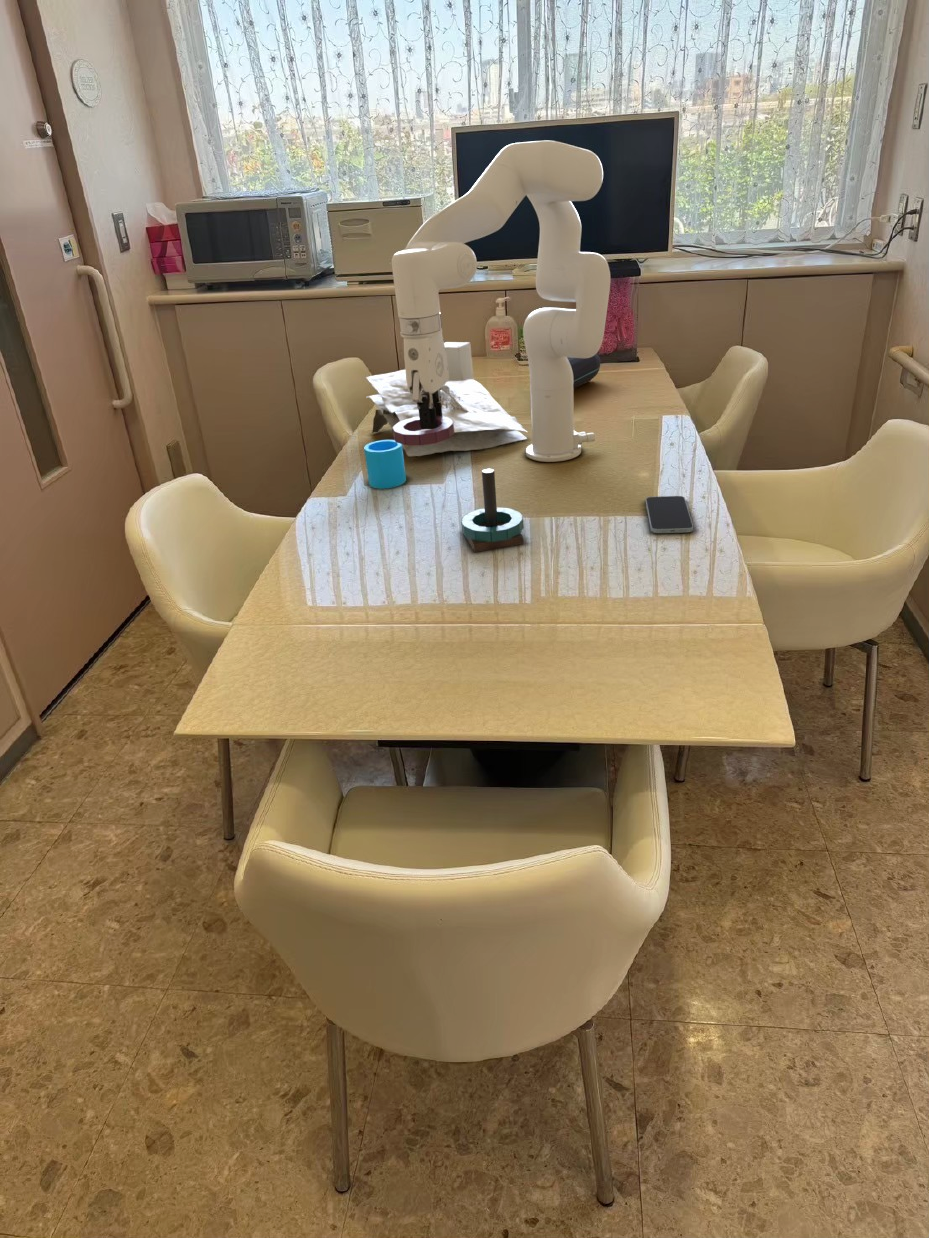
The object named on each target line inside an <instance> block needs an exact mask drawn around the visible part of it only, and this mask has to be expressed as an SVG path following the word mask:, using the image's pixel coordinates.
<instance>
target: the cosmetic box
mask: <svg viewBox="0 0 929 1238" xmlns="http://www.w3.org/2000/svg"><path fill="white" fill-rule="evenodd" d="M444 345H445V351H446V357H447V364H448V371H449V380H448V381H459V380H460V381H463V380H468V379H473V380H475V377H474V369H473V358H472V348H471V342H469V341H468V342H467V341H465V342H463V341H462V342H461V341H460V342H459V341H458V342H457V341H446V342H445V341H444Z"/></svg>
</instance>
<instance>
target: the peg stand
mask: <svg viewBox="0 0 929 1238" xmlns="http://www.w3.org/2000/svg"><path fill="white" fill-rule="evenodd" d="M495 475H496V474H495V469H493V468H484V469H482V470H481V479H482V480H481V481H482V492H483V506H484V507H483V509H485V523H482V524H479V525H478V526H481V527H496V526H502V525H504V524H507V523H505V522H500V521H498V520H497V508H498V507H497V491H496V490H497V489H496V476H495ZM465 538H466V540H467V542H468V544H469V545H470V547H471V548H472V550H473V552H474V553H478V552H484V551H490V550H495V549H500V548H501V549H503V548H507V547H514V546H520V545H524V536H523V535H522V532H521V533H520V534H519V535H516V536H514V537H512V538H510V539H507V540H502V541H495V542H492V541H491V542H483V541H475V540H472V539H470V538H467V537H465Z"/></svg>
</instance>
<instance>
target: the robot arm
mask: <svg viewBox="0 0 929 1238" xmlns="http://www.w3.org/2000/svg"><path fill="white" fill-rule="evenodd" d="M603 179H604V170H603V164H602V162H601V160H600V158H599V156H598V155H597V154H596V153H594V152H593V151H592V150H589V149H586V148H582V147H578V146H575V145H571V144H568V143H564V142H561V141H556V140H545V139H544V140H534V141H523V142H515V143H510V144H508V145H506V146H504V147H503V148H502V149H500V151H499V152H498V153H497V154H496V155H495V157H494V158H493V160H492V161H491V162H490V163H489V165H488V166H487V167H486V168H485V170H484V171H483V172H482V174H481V175H480V176H479V178H478V179H477V180H476V182H475V183H474V184H473V185H472V187H471V188H470V189H469V191H468V192H466V193H465V194H464V195H463V196H461V197H459V198H457V199H456V200H454V201H452V202H450V204H448V205H447V206H445V207H443V208H442V209H440V210H439V211H437V212H436V213H435V214H433V215H431V216H430V217H429V218H428V219H427V220H425V222H424V223H423V224H422V225H421V226H420V227H419V228H418V230H416V232H415V233H414V235H413V236H412V237H411V239H410V240H409V242H408V243H407V245H406V246H405V248H404V249H403V250H400V251H397V252H395V253H394V254H393V255H392V257H391V271H392V278H393V286H394V293H395V302H396V309H397V310H396V311H397V316H398V317H397V318H398V326H399V332H400V337H401V338H403V359H404V370H405V372H406V381H407V387H408V390H409V392H410V393H412V394H413V397H412V400H413V402H416V403H417V408H418V409H419V418H420V426H421V428H422V429H434V428H437V418H436V416H442V407H441V391H440V390H441V387H442V386H443V385H444V384H445V383H446V382H447V381H448V380H449V371H448V364H447V357H446V351H445V345H444V343H445V341H444V335H443V325H442V324H443V323H442V314H441V306H440V305H441V304H440V295H439V291H440V290H446V289H458V288H462V287H464V286H466V285H467V284H469V283H470V282H471V281H472V279H473V278H474V276H475V275H476V272H477V267H478V261H477V257H476V254H475V252H474V250H473V249H472V248H471V247H470V246H469V245H467V243H469V242H472V241H475V240H479V239H481V238H485V237H486V236H489V235H491V234H493V233H496V232H498V231H499V230H500V229H502V228H503V227H504V226H505V224H506V222H507V221H508V220H509V218H510V217H511V215H512V214H513V213H514V212H515V210H516V209H517V207H518V206H519V205H520V203H521V202H522V201H523V200H524V198H525V197H527V198H528V200H529V201H530V203H531V205H532V207H533V209H534V211H535V213H536V216H537V219H538V223H539V239H538V252H537V261H536V270H535V290H536V293H537V294H538V296H539V297H540V298H542V299H543V300H547V301H551V302H552V301H553V302H563V303H564V302H566V303H575V308H564V307H563V308H561V307H542V308H538V309H535V310H533V311H531V312H530V313H529V314H528V315H527V317H526V318H525V320H524V323H523V327H522V338H523V344H524V347H525V351H526V357H527V362H528V373H529V397H530V418H531V419H530V420H531V422H530V423H531V444H530V445H528V446H527V447H526V448H525V455H526V457H527V458H529V459H530V460H533V461H535V462H536V461H537V462H545V463H557V462H564V461H568V460H572V459H574V458H576V457H578V456H579V455H580V454H581V453H582V446H581V445H582V444H583V443H590V442H595V441H596V435H595V433H594V432H588V433H586V431H581V432H580V431H579V432H577V431H575V410H574V409H575V408H574V406H575V404H574V403H575V402H574V400H575V399H574V389H573V384H574V381H573V371H572V368H571V365H570V363H569V361H568V359H567V357H571V358H590V357H592V356H594V355H595V354H596V353H597V354H598V352H599V351H600V349H601V347H602V344H603V340H604V336H605V329H606V322H607V315H608V306H609V299H610V293H611V292H610V290H611V271H610V266H609V263H608V261H607V259H606V258H605V257H604V256H603V255H602V254H600V253H598V252H591V251H581V242H582V241H581V239H582V222H581V219H580V216H579V213H578V211H577V209H576V208H575V205H574V204H573V202H585V201H588V200H591V199H593V198H594V197H595V196H596V195H597V194H598V192H599V191H600V189H601V187H602V184H603ZM422 389H424V390H425V391H421V390H422ZM422 395H425V397H424V396H422Z"/></svg>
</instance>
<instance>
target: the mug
mask: <svg viewBox="0 0 929 1238" xmlns="http://www.w3.org/2000/svg"><path fill="white" fill-rule="evenodd" d="M402 447H403V446H402V444H400V443H397V442H396V441H395V439H381V440H376V441H372V442H369V443H367V444H365V446H364V447H363V450H364V451H363V452H364V457H365V464H366V472H367V478H368V484H369V487H372V488H375V489H391V488H396V487H400V486H402V485H403V484H405V483H406V482H407V476H406V468H405V467H406V466H405V459H404V449H403V448H402Z"/></svg>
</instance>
